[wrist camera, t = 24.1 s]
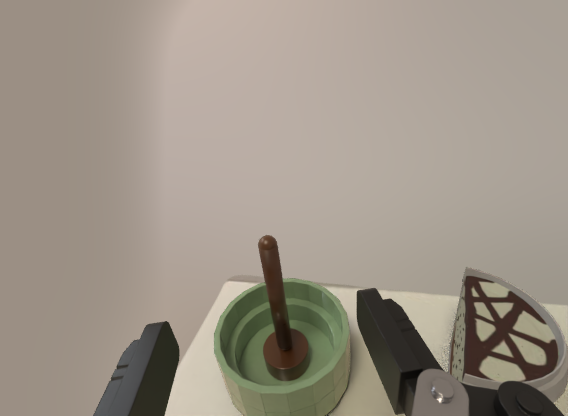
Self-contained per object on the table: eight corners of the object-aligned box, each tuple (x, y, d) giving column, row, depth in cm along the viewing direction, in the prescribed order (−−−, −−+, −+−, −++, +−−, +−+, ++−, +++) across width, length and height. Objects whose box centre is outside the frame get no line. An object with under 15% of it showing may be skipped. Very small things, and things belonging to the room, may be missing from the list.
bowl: (210, 432, 24) (192, 392, 22) (241, 315, 36) (232, 280, 34) (360, 436, 23) (360, 393, 20) (341, 312, 35) (340, 275, 32)
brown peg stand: (262, 381, 27) (231, 255, 21) (268, 339, 32) (244, 224, 25) (310, 381, 27) (294, 252, 20) (309, 339, 31) (296, 220, 24)
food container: (550, 519, 18) (613, 439, 13) (442, 462, 21) (464, 382, 16) (522, 359, 27) (554, 280, 23) (450, 336, 30) (466, 263, 26)
